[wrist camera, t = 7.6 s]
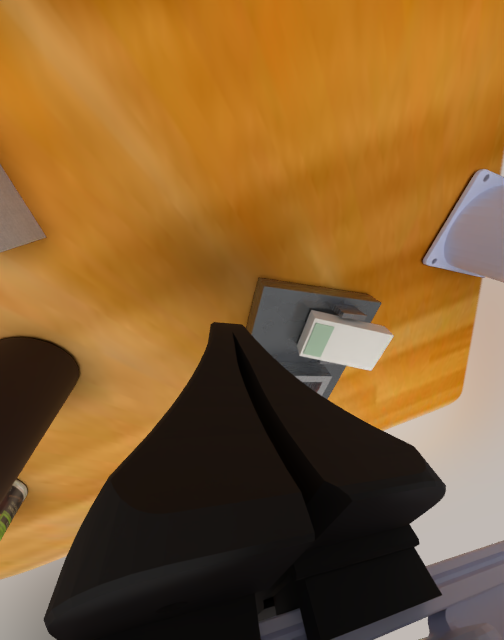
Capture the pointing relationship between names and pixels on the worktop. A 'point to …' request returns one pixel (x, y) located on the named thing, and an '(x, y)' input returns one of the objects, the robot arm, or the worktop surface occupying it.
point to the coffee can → (11, 505)
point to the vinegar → (29, 399)
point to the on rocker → (343, 340)
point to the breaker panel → (302, 325)
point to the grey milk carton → (15, 217)
